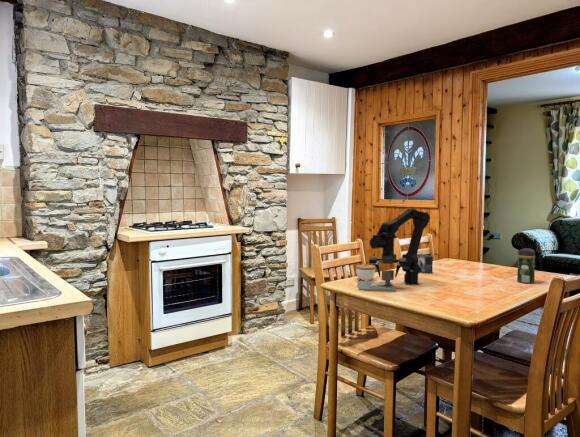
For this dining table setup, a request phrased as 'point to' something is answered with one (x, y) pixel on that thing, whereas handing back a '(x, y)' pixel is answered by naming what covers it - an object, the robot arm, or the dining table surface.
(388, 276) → the peg knob
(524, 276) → the coffee jar
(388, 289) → the tuner board
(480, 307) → the dining table surface
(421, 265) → the small box
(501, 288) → the dining table surface
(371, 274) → the lidded jar
